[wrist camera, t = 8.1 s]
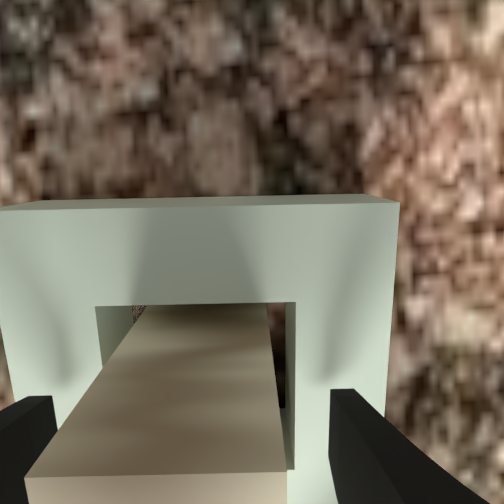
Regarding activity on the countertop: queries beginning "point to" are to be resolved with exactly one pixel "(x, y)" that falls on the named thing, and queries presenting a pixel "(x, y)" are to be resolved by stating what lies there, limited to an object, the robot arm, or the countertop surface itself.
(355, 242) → the socket block
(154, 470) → the peg
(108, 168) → the countertop surface
